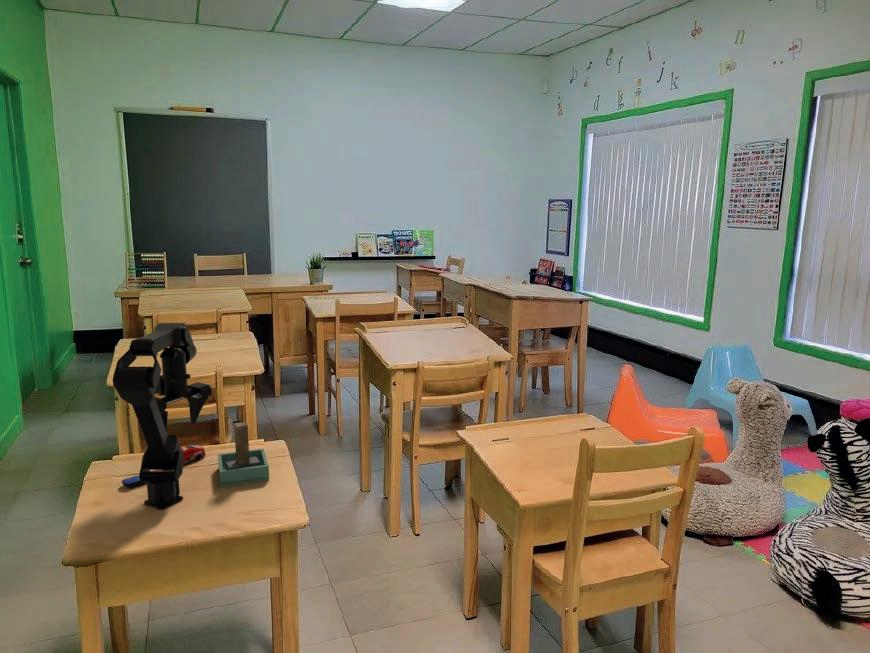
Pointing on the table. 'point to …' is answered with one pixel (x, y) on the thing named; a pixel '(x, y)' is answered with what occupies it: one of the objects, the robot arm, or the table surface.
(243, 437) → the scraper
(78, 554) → the table surface
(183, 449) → the race car
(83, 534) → the table surface
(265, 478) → the box
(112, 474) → the table surface
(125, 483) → the eraser
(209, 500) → the table surface
